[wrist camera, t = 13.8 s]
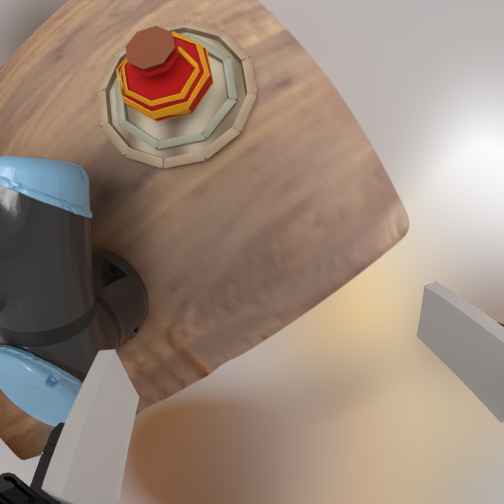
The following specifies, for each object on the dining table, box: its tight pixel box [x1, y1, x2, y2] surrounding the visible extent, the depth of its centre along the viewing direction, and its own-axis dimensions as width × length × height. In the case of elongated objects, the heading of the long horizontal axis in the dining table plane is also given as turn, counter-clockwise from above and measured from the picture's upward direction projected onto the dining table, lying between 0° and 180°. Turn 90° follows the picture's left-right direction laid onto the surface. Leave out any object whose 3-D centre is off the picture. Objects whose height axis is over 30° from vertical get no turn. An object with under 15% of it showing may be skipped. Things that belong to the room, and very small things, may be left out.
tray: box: [97, 20, 257, 169], centre depth 30 cm, size 20×20×3 cm
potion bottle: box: [116, 26, 214, 122], centre depth 23 cm, size 10×10×15 cm
